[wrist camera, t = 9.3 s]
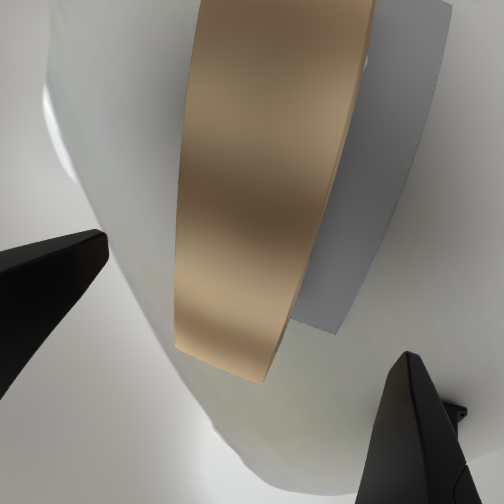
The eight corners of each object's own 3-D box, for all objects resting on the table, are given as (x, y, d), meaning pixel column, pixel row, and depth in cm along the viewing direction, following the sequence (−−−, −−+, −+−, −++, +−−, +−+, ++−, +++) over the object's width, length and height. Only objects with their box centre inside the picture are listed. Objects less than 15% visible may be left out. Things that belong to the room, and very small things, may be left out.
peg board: (337, 325, 22) (324, 377, 18) (191, 268, 25) (156, 307, 21) (448, 9, 10) (473, -16, 6) (234, -35, 12) (189, -62, 8)
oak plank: (281, 339, 18) (261, 385, 15) (204, 308, 19) (174, 347, 16) (379, -9, 8) (380, -41, 5) (253, -28, 9) (212, -56, 6)
